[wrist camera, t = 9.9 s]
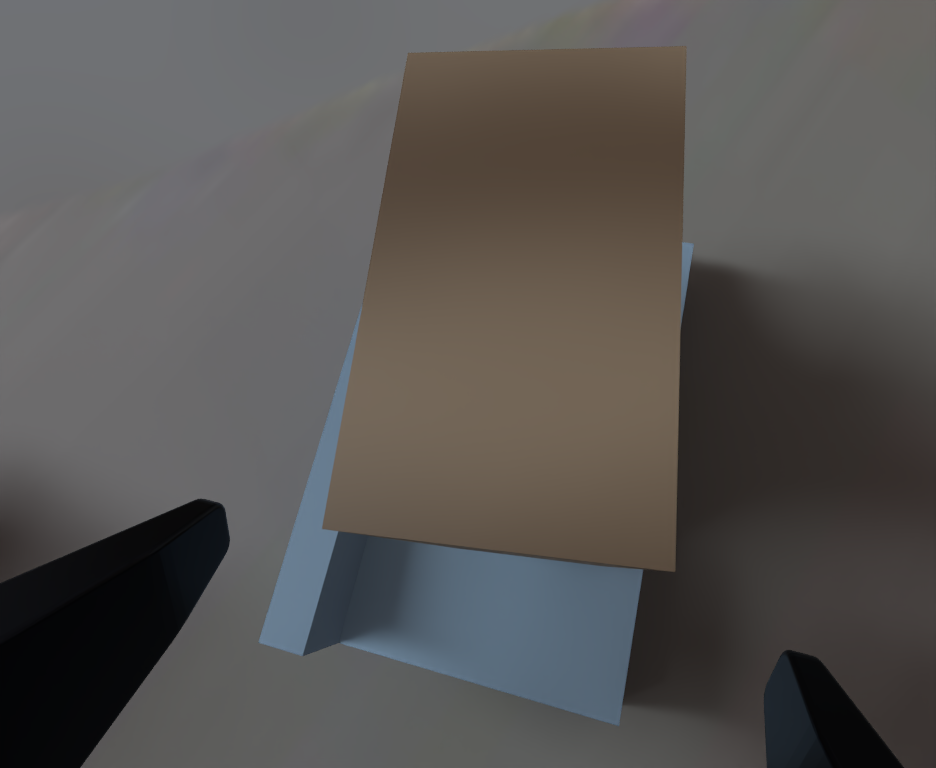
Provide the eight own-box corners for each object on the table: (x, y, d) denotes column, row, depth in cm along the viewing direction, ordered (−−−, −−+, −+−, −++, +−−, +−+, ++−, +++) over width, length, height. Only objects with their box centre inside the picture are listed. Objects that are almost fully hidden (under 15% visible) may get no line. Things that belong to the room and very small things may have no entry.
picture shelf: (610, 703, 17) (630, 756, 13) (332, 622, 19) (258, 642, 14) (678, 279, 21) (714, 197, 16) (437, 245, 23) (405, 161, 18)
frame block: (604, 566, 16) (679, 571, 6) (458, 548, 17) (318, 528, 7) (617, 329, 18) (690, 46, 8) (485, 322, 19) (404, 53, 9)
